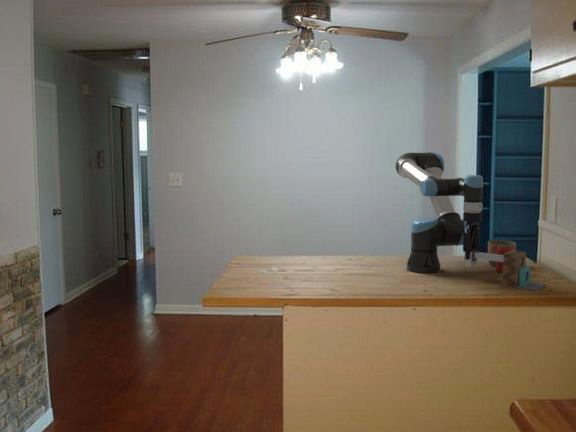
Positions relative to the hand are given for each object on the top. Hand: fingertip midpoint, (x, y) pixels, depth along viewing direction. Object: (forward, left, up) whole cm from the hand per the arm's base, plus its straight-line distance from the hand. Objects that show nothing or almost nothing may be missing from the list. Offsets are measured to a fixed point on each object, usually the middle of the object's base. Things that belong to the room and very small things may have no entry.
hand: (470, 265), depth 253 cm
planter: (+2, +32, -5) cm, 32 cm away
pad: (+26, 0, -5) cm, 26 cm away
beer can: (+8, +19, -5) cm, 21 cm away
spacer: (+23, 0, -5) cm, 23 cm away
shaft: (+10, 0, +2) cm, 10 cm away
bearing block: (+19, 0, -5) cm, 19 cm away
